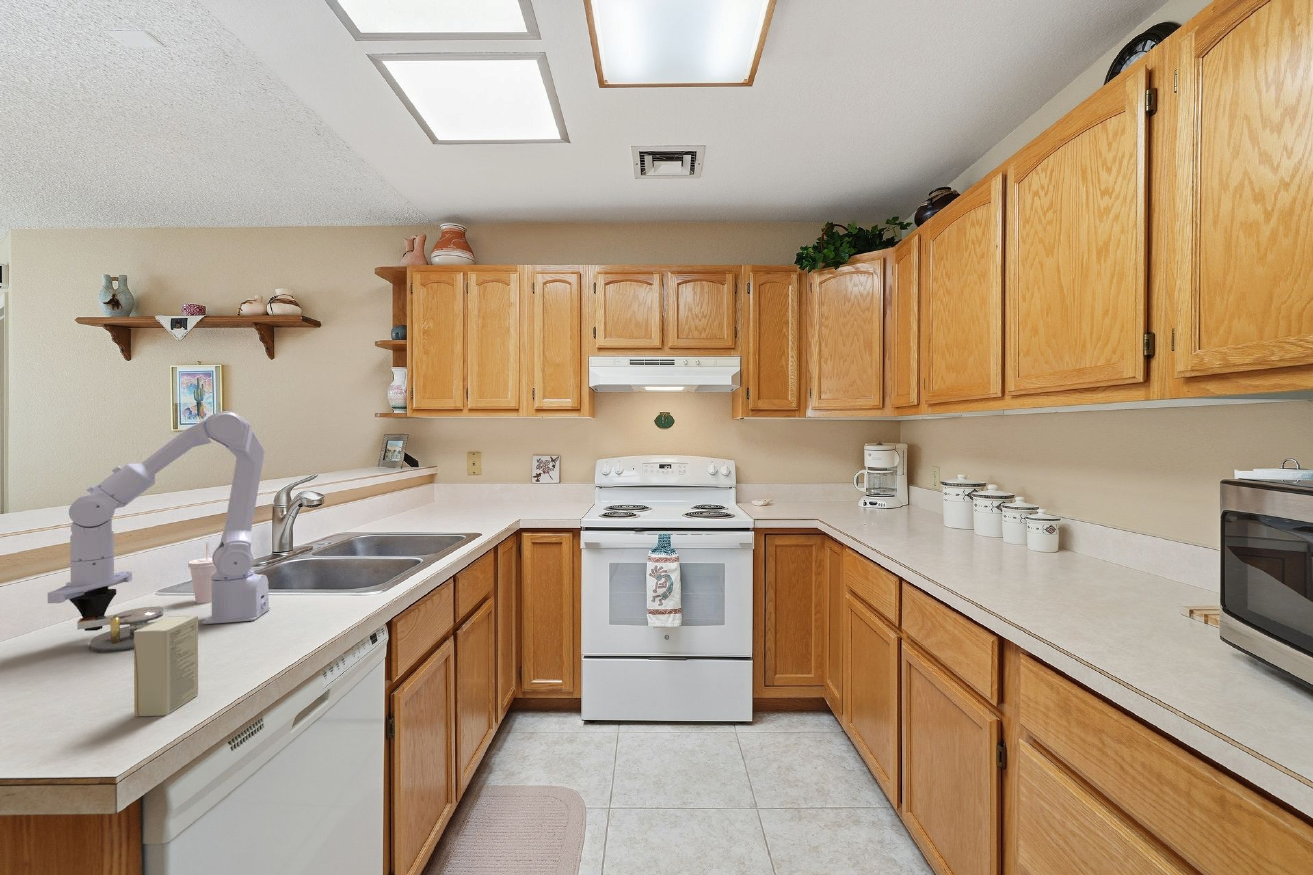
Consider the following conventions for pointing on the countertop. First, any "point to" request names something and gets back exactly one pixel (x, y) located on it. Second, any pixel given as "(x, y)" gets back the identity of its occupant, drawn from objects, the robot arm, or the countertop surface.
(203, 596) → the smoothie
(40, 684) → the countertop surface
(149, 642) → the skincare box
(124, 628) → the base
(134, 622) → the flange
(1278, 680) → the countertop surface
